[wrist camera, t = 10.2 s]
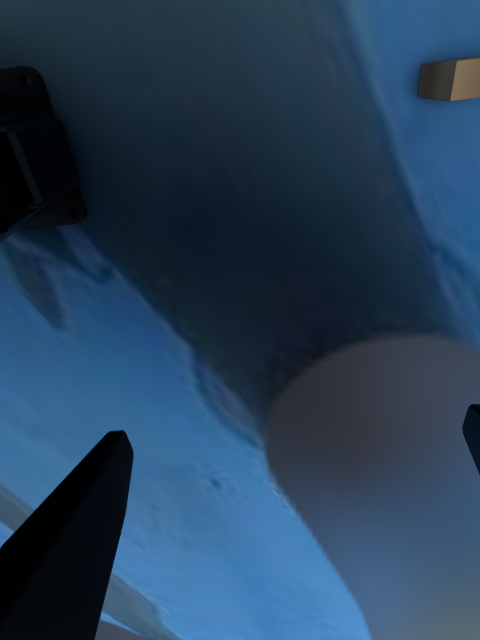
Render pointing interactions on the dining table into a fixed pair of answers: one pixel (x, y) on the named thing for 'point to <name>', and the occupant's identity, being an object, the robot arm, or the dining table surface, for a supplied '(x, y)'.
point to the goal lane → (450, 79)
